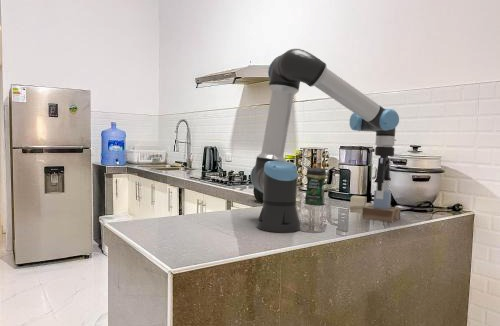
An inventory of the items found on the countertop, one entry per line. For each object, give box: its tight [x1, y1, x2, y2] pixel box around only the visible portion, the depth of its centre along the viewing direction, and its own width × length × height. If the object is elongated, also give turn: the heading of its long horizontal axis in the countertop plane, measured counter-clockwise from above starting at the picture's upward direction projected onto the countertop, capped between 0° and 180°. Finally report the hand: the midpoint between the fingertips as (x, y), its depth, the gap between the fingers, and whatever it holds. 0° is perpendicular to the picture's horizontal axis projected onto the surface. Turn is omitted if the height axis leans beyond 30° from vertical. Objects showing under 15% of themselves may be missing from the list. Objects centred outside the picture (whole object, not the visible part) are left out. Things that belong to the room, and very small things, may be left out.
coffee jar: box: [304, 167, 327, 206], centre depth 199 cm, size 10×8×19 cm
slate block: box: [372, 189, 392, 209], centre depth 164 cm, size 6×6×7 cm
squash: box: [253, 186, 263, 203], centre depth 200 cm, size 14×15×15 cm
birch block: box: [349, 195, 368, 214], centre depth 179 cm, size 6×6×7 cm
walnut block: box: [361, 204, 402, 223], centre depth 164 cm, size 12×12×5 cm
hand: (382, 197), depth 164 cm, fingers open, 13 cm apart
